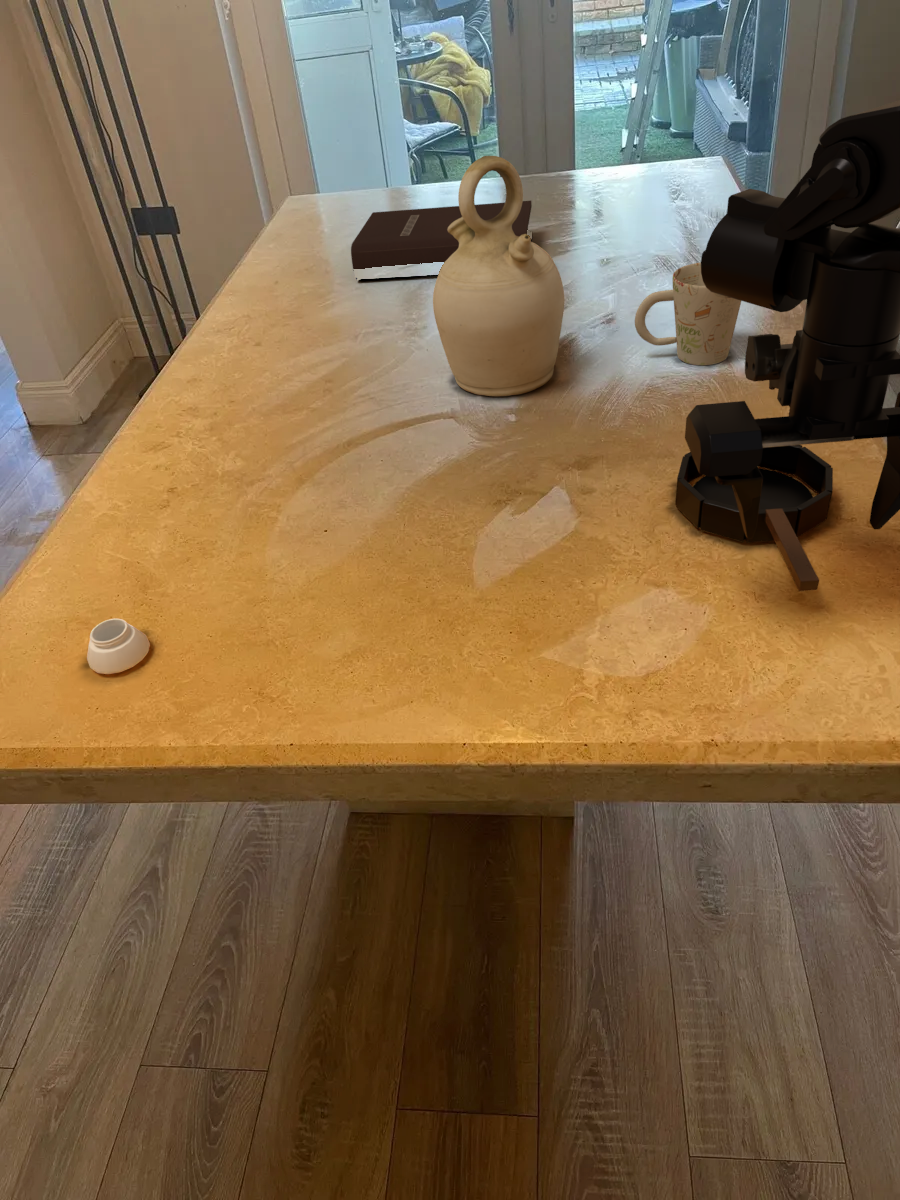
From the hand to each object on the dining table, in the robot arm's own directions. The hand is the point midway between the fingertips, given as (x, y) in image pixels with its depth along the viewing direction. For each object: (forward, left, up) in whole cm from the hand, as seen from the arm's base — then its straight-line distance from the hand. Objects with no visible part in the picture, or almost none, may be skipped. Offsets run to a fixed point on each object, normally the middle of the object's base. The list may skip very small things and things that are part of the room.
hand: (810, 531), depth 64 cm
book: (+5, -100, -7) cm, 100 cm away
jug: (+9, -51, -7) cm, 52 cm away
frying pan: (-2, -9, -7) cm, 12 cm away
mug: (-13, -46, -7) cm, 48 cm away
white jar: (+54, -13, -7) cm, 56 cm away
